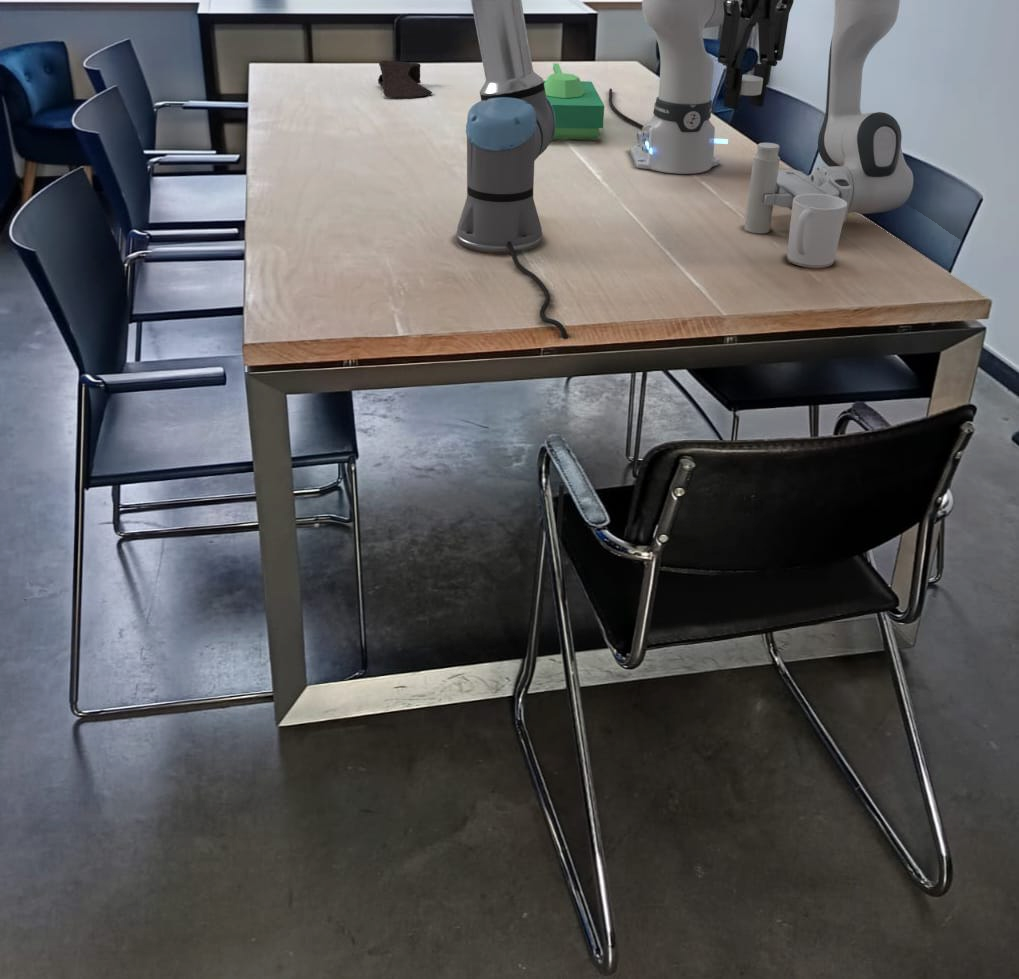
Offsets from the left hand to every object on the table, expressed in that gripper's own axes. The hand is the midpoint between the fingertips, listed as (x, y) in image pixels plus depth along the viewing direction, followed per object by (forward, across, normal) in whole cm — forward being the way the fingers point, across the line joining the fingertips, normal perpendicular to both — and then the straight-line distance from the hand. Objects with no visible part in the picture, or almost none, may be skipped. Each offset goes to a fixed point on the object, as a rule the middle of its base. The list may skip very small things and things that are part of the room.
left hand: (743, 106), depth 187 cm
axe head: (+25, +5, +137) cm, 139 cm away
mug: (+23, +4, -17) cm, 29 cm away
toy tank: (+24, +21, +85) cm, 91 cm away
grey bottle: (+23, +9, +1) cm, 25 cm away
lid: (-4, 0, 0) cm, 4 cm away
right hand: (+17, +8, +1) cm, 18 cm away
